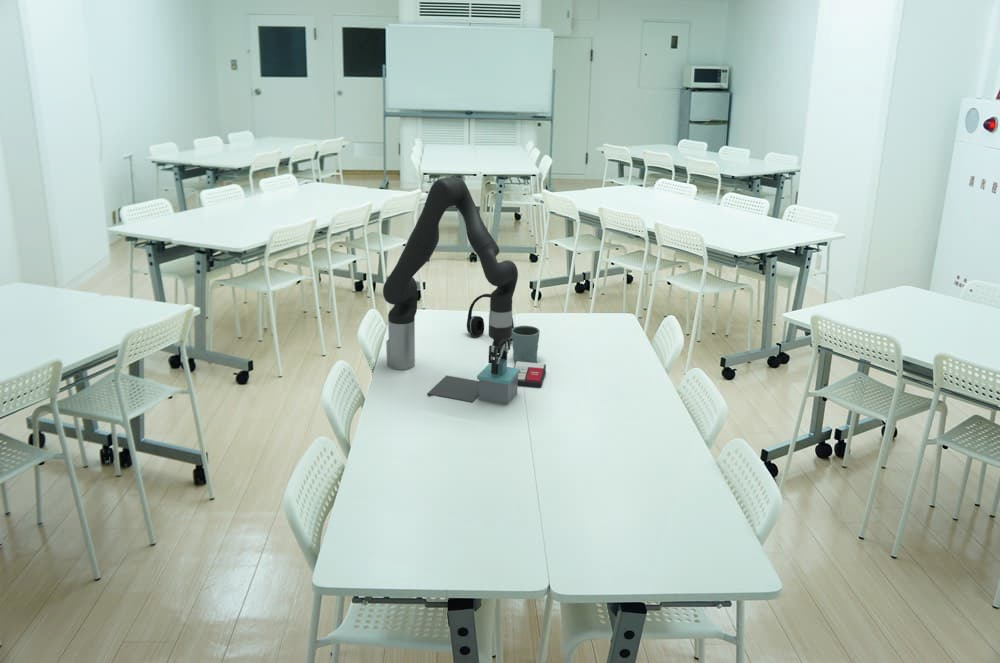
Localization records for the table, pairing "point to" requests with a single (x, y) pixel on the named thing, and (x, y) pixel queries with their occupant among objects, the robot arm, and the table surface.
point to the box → (497, 391)
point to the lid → (499, 373)
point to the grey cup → (525, 343)
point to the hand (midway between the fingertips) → (499, 369)
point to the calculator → (530, 374)
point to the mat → (456, 389)
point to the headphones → (478, 320)
